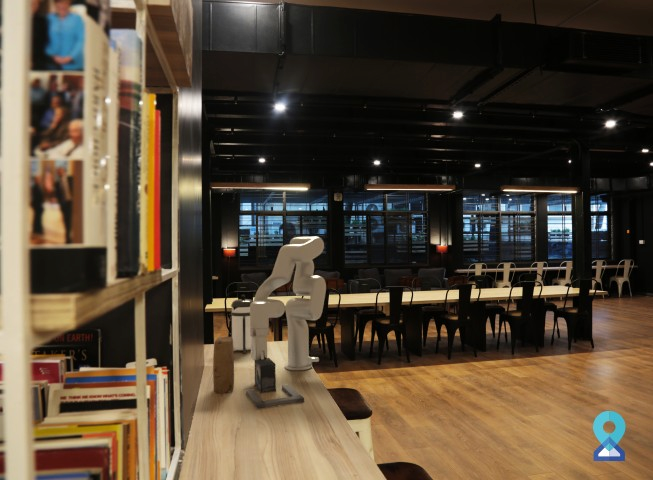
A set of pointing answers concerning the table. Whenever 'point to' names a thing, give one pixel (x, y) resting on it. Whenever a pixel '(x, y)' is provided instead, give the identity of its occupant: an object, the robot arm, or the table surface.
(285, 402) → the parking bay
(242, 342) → the coffee press
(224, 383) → the block
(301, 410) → the table surface
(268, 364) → the small box
